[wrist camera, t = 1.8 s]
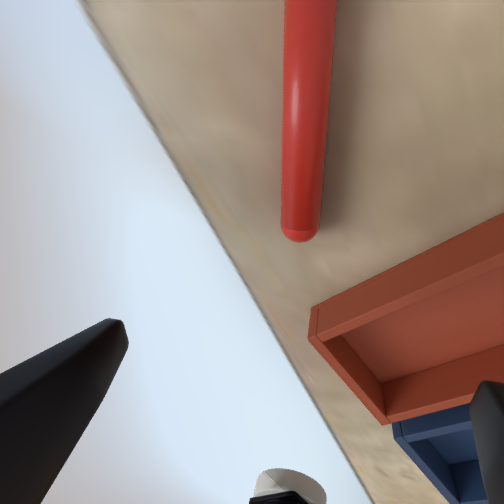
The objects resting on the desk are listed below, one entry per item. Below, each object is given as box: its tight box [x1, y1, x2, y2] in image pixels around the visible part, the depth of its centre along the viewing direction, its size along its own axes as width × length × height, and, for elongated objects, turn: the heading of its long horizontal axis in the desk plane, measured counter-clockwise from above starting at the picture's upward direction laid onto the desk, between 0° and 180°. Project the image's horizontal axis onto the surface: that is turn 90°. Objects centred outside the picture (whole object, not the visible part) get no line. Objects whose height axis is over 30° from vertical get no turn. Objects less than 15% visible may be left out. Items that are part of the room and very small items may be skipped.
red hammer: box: [281, 0, 337, 243], centre depth 13 cm, size 17×4×2 cm, turn 2°
